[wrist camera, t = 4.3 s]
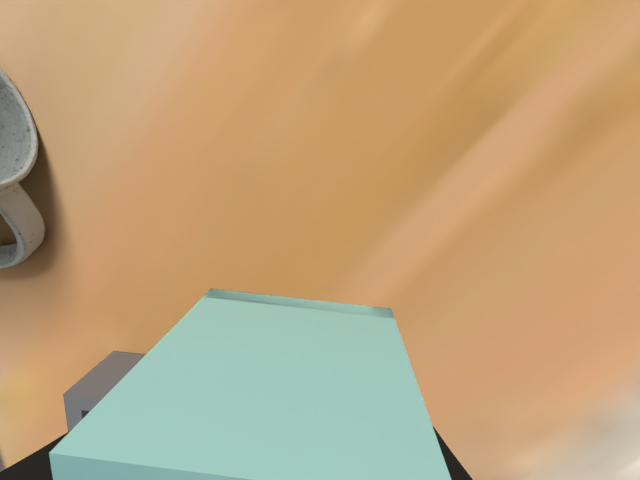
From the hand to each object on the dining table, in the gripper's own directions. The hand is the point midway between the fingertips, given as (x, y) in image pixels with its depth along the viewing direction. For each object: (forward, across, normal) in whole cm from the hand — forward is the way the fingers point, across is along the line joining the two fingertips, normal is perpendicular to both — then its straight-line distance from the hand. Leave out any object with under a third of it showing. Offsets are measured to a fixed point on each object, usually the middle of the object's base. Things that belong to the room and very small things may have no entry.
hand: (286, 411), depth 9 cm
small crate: (+1, 0, 0) cm, 1 cm away
